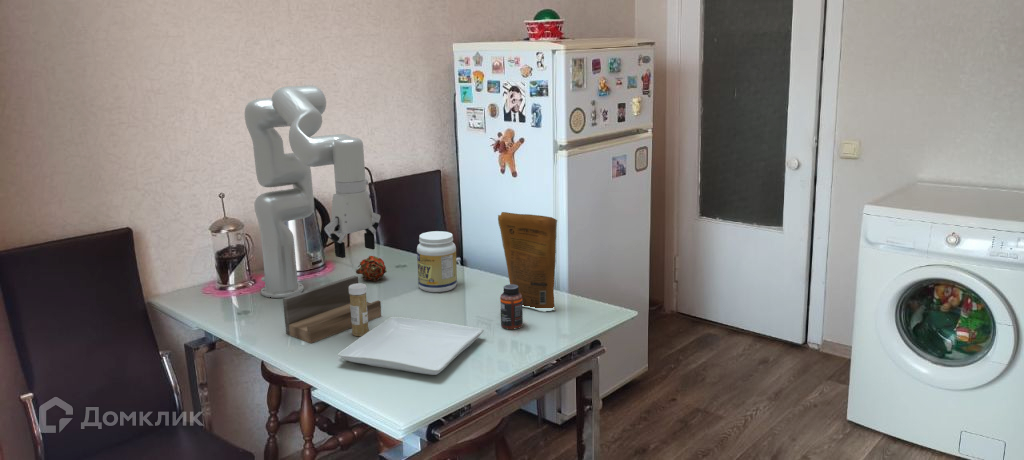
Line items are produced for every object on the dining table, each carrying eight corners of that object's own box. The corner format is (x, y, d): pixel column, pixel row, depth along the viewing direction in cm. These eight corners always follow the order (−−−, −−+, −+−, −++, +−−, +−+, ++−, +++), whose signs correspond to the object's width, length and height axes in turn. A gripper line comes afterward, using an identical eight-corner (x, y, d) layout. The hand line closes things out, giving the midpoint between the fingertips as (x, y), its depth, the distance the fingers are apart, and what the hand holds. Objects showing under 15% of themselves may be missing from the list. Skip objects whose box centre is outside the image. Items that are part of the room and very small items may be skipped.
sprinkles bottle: (372, 334, 193) (368, 286, 190) (355, 338, 191) (352, 289, 187) (365, 329, 197) (362, 281, 193) (349, 332, 194) (345, 284, 191)
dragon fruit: (380, 289, 233) (363, 285, 243) (397, 269, 237) (380, 266, 246) (363, 271, 229) (346, 268, 239) (381, 251, 233) (363, 249, 242)
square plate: (440, 385, 165) (439, 369, 164) (336, 368, 174) (334, 353, 173) (485, 340, 189) (485, 326, 189) (392, 327, 199) (391, 314, 198)
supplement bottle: (525, 323, 199) (525, 284, 197) (518, 331, 194) (518, 291, 191) (505, 321, 201) (504, 282, 198) (497, 328, 196) (496, 288, 193)
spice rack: (286, 333, 194) (282, 298, 192) (356, 308, 212) (354, 275, 210) (310, 343, 188) (307, 306, 185) (381, 316, 206) (379, 282, 203)
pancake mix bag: (549, 317, 204) (550, 219, 197) (497, 303, 215) (495, 210, 208) (563, 310, 209) (564, 215, 202) (511, 296, 220) (510, 206, 213)
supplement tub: (410, 286, 231) (408, 234, 226) (441, 278, 238) (439, 228, 234) (433, 296, 222) (431, 242, 218) (465, 287, 230) (463, 234, 225)
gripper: (367, 180, 193) (371, 243, 197) (313, 191, 180) (318, 258, 184) (386, 183, 188) (390, 247, 192) (332, 194, 175) (338, 263, 179)
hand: (355, 252), depth 188 cm, fingers open, 9 cm apart
